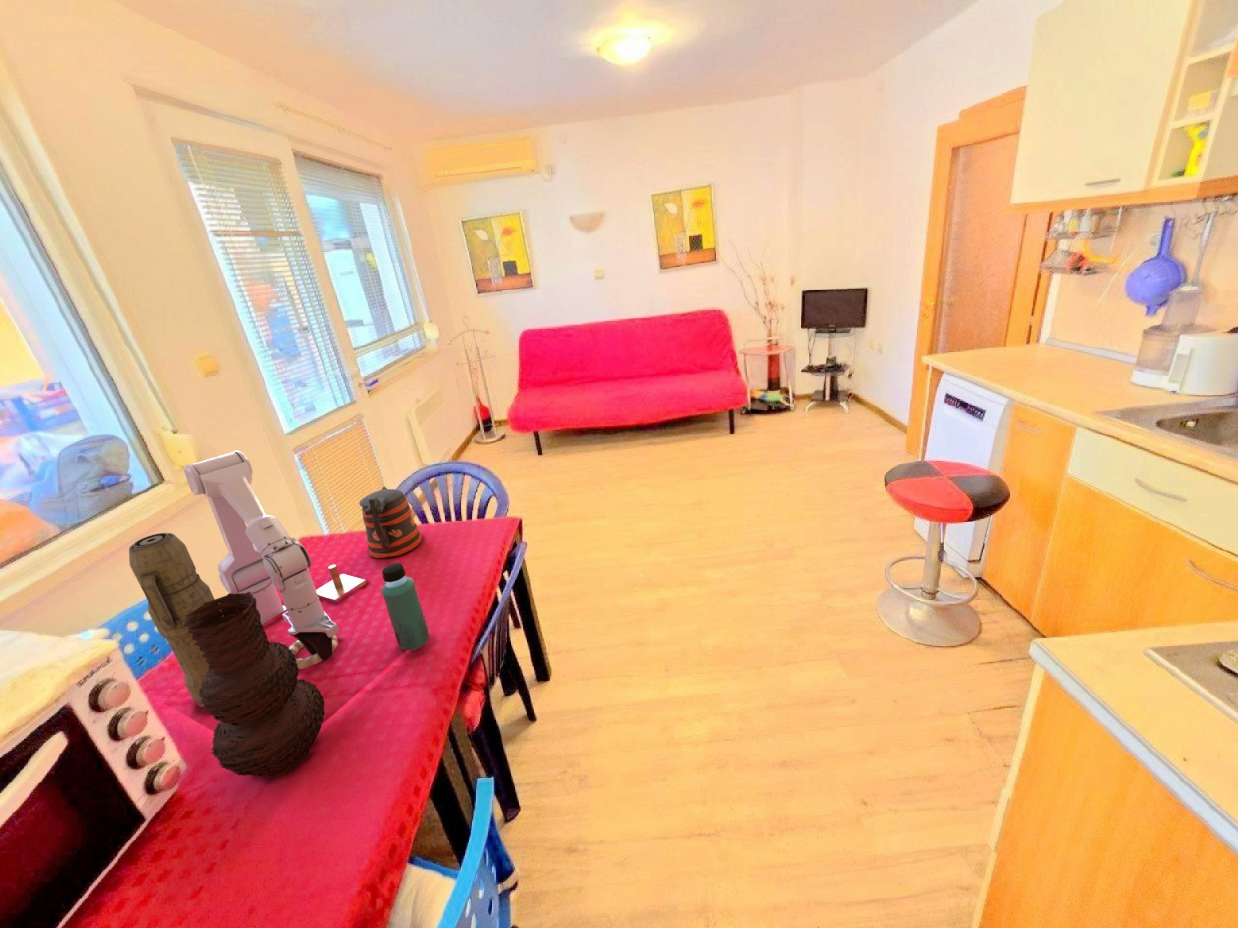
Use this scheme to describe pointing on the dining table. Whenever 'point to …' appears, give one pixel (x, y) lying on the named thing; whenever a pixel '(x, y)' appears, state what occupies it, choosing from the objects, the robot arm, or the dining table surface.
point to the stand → (339, 584)
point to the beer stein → (389, 523)
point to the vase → (253, 690)
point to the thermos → (172, 599)
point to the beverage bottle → (404, 608)
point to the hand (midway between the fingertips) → (322, 654)
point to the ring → (311, 659)
